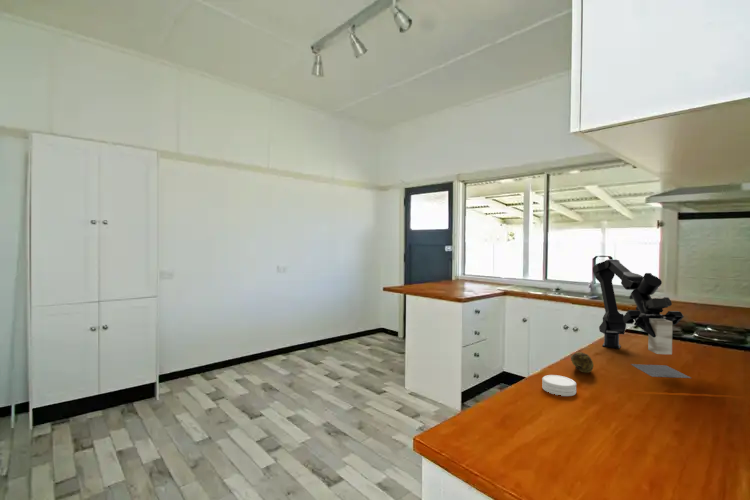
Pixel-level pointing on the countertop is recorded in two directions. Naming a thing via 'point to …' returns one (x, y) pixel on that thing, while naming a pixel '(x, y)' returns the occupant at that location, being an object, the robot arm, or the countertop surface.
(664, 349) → the tall block
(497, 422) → the countertop surface
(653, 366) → the rubber mat
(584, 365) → the potato
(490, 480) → the countertop surface
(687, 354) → the countertop surface
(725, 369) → the countertop surface
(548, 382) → the coaster
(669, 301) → the robot arm
